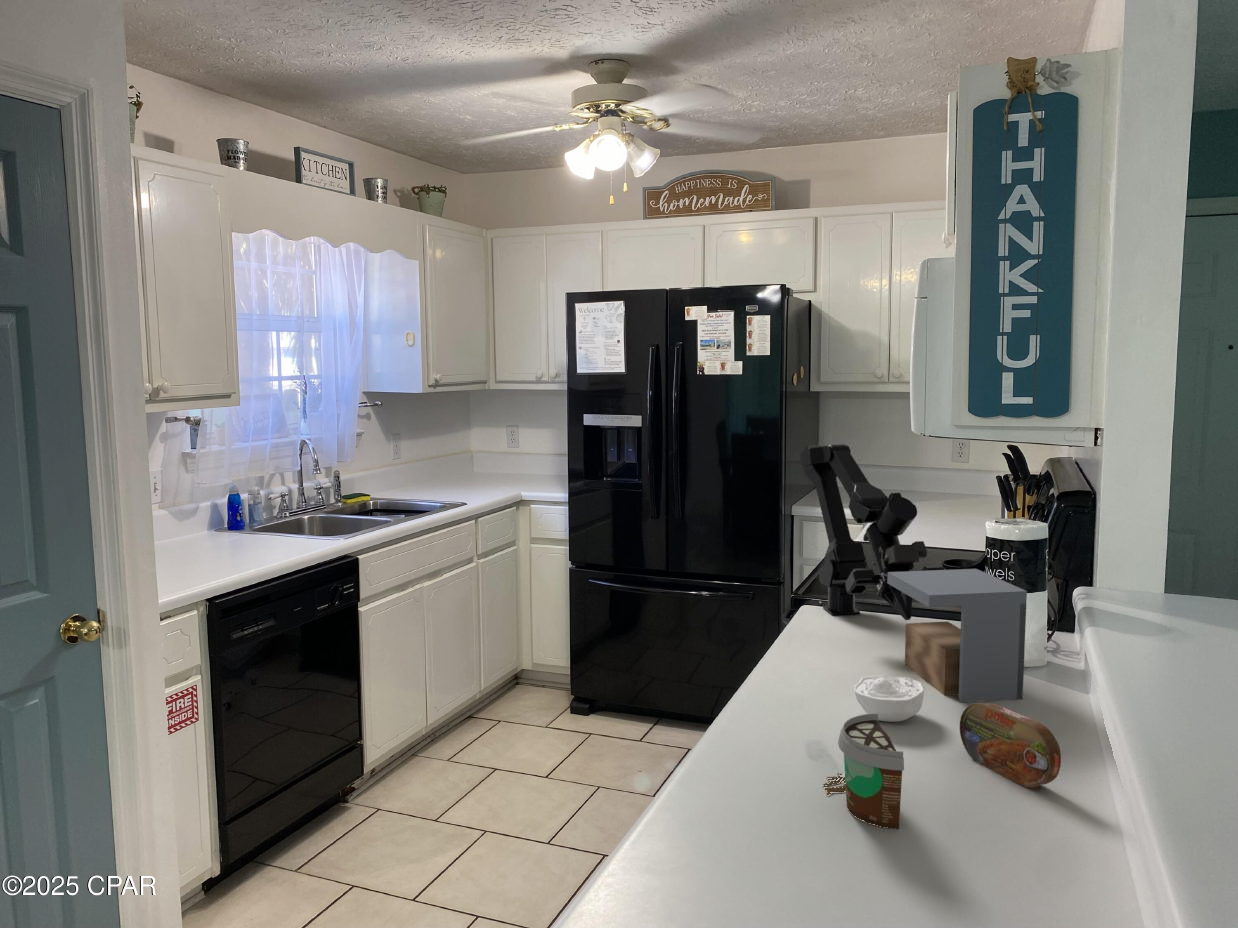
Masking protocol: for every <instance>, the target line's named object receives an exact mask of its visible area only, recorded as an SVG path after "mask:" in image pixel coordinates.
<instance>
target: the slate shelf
mask: <svg viewBox="0 0 1238 928" xmlns="http://www.w3.org/2000/svg"><path fill="white" fill-rule="evenodd" d="M887 583H888V584H890V585H891V586H893V587H895V588H896V589H898V590H900V591H901V592H903V593H905V594H907V595H908V596H910V597H912V600H913V599H914V600H916V601H917V602H918V603H921V604H922V605H924V606H926V607H927V608H946V607H948V608H949V607H952V608H953V607H960V609H961V610H960V613H961V615H960V629H961V637H960V668H959V695H958V701H959V702H960V703H969V702H970V703H972V702H975V703H976V702H987V701H988V702H989V701H993V702H994V701H1006V700H1009V701H1010V700H1023V697H1024V696H1023V695H1024V673H1025V670H1024V669H1025V650H1026V649H1025V648H1026V627H1027V626H1026V622H1027V598H1028V597H1027V595H1028V591H1027V590H1025V589H1023V588H1020V587H1018V586H1016V585H1014V584H1012V583H1010V582H1007V581H1005V580H1003V579H1000V578H998V577H996V576H993V575H991V574H989V573H987V572H985V571H982V570H980V569H978V568H962V569H946V570H931V571H921V570H909V571H905V572H888V578H887Z"/></svg>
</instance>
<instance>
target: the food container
mask: <svg viewBox="0 0 1238 928" xmlns="http://www.w3.org/2000/svg"><path fill="white" fill-rule="evenodd" d="M837 745H838V748H839V750H840V751H841V752H842V753H843V762H844V763H843V764H844V773H845V783H846V793H845V798H846V808H848V809H849V810H848V809H847V810H848V812H849V811H850V812H851V813H852V814H853V815H854V816H856V817H857V818H859V819H861V820H864V821H865V822H867V823H866V824H868V823H871V824H875V825H878V826H881V827H880V828H883V827H888V828H887V829H890V828H893V829H892V830H896V829H897V830H899V829H900V818H901V817H900V815H901V801H902V800H901V797H902V782H903V771H905V758H904V751H902V750H900V751H899V750H897V749H896V748H895V746H894V744H893V742H892V740H891V738H890V736H889V735H888V733H887V732H886V731H885V730H884V729H883V728H882V726H881V725H880V723H879V720H878V714H867V713H864V714H859V715H856V716H854V717H851V718H849V719H847V720H846V721H845V722H844V723H843V725H842V727H841V730H840V733H839V737H838V740H837ZM850 812H849V813H850ZM851 813H850V814H851ZM852 814H851V815H852ZM853 815H852V816H853ZM854 816H853V817H854ZM856 817H855V818H856ZM857 818H856V819H857ZM859 819H858V820H859ZM861 820H860V821H861ZM865 822H864V823H865ZM878 826H877V827H878ZM895 828H896V829H895Z"/></svg>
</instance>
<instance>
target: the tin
mask: <svg viewBox="0 0 1238 928" xmlns="http://www.w3.org/2000/svg"><path fill="white" fill-rule="evenodd" d="M959 735H960V736H959V737H960V739H961V742H962V745H963V747H964V749H965V751H966V753H967V754H968V755H969V756H970V758H971V759H972V760H973V761H974V762H976V763H977V764H979V765H981V766H983V767H984V768H986V769H989V770H991V771H993V772H994V773H996V774H999V775H1000V776H1002V777H1004V778H1006V779H1008V780H1010V781H1012V782H1014V783H1016V784H1018V785H1020V786H1022V787H1025V788H1031V789H1032V788H1037V787H1039V786H1043V785H1047V784H1049V783H1052V782H1053V781H1054V780H1056V779H1057V777H1058V775H1059V774H1060V773H1059V772H1060V770H1061V762H1062V760H1061V759H1062V758H1061V757H1062V755H1061V748H1060V745H1059V743H1058V741H1057V739H1056V737H1055V735H1054V733H1052V732H1051V730H1050V728H1048V727H1046V725H1044V724H1043V723H1041V722H1039V721H1037V720H1035V719H1033V718H1030V717H1028V716H1026V715H1023V714H1021V713H1018V712H1016V711H1013V710H1011V709H1008V708H1006V707H1003V706H1001V705H999V704H997V703H992V702H983V703H980V702H978V703H976V702H975V703H972V704H970V705H968V706H967V707H965V708H964V710H963V712H962V713H961V715H960V719H959Z"/></svg>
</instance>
